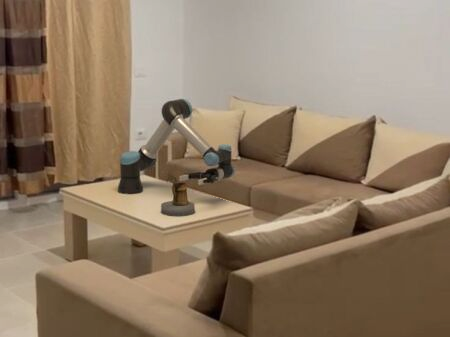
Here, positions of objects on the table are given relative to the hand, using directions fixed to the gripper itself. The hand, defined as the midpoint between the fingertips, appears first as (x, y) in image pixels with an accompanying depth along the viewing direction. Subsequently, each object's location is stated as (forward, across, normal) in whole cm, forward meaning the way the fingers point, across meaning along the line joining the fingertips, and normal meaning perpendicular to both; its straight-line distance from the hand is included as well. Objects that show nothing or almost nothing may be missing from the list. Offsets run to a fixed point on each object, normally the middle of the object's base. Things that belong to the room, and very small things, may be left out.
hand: (189, 180), depth 408 cm
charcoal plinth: (+9, 0, -16) cm, 18 cm away
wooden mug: (+9, 0, -12) cm, 15 cm away
